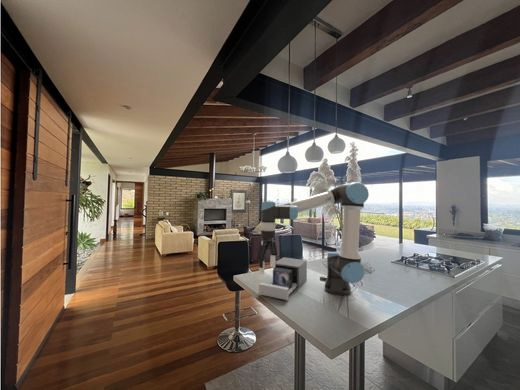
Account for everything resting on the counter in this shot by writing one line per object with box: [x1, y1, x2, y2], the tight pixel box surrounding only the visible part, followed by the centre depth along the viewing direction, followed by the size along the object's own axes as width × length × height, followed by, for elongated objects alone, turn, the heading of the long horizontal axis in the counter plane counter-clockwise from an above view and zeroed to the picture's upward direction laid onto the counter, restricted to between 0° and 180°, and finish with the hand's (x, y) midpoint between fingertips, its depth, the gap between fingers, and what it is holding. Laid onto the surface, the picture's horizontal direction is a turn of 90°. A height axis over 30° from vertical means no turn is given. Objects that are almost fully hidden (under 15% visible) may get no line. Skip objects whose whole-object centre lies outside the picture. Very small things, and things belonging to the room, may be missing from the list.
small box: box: [272, 268, 292, 289], centre depth 133 cm, size 11×6×10 cm, turn 64°
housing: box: [272, 257, 308, 290], centre depth 148 cm, size 17×18×14 cm
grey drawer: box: [258, 281, 297, 301], centre depth 130 cm, size 17×21×6 cm
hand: (267, 270), depth 117 cm, fingers open, 13 cm apart
